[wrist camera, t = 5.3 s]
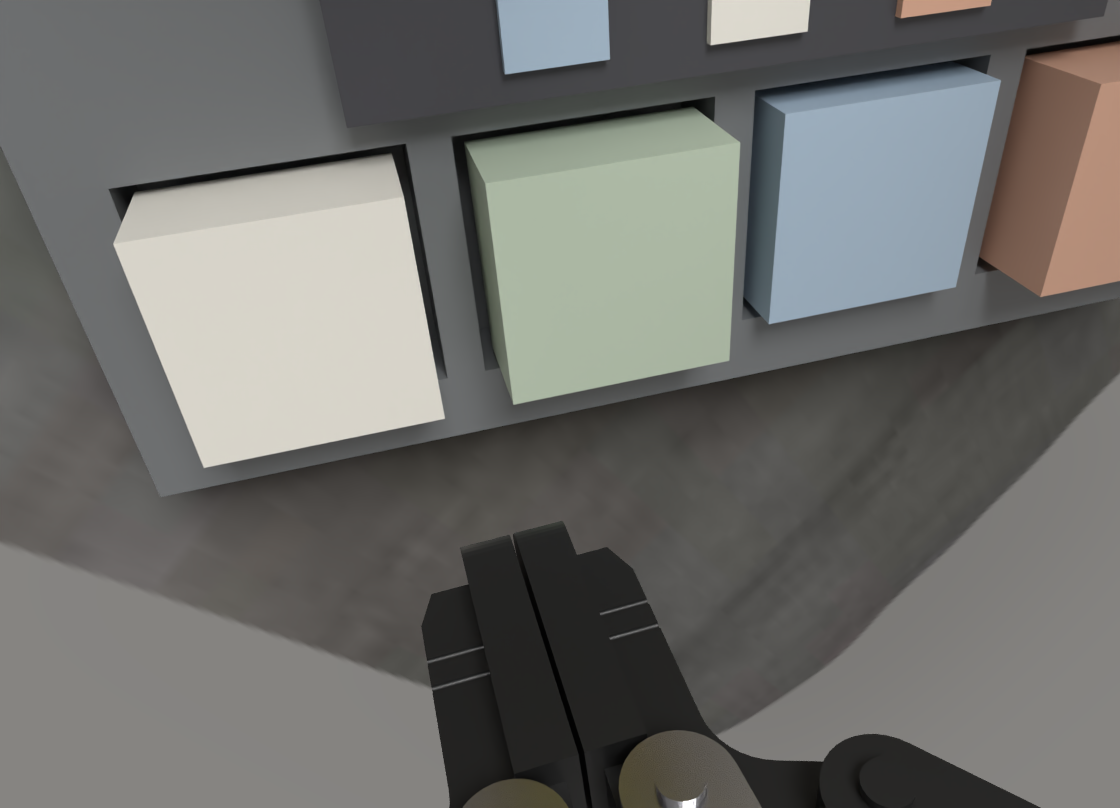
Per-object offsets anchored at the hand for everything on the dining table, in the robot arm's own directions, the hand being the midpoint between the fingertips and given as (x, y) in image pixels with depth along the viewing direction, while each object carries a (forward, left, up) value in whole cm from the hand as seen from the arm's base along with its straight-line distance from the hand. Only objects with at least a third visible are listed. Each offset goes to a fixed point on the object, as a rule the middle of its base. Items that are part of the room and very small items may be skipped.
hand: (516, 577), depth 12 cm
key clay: (-1, +17, -9) cm, 19 cm away
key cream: (-1, -3, -9) cm, 9 cm away
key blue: (-1, +10, -10) cm, 14 cm away
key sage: (-1, +4, -9) cm, 10 cm away
